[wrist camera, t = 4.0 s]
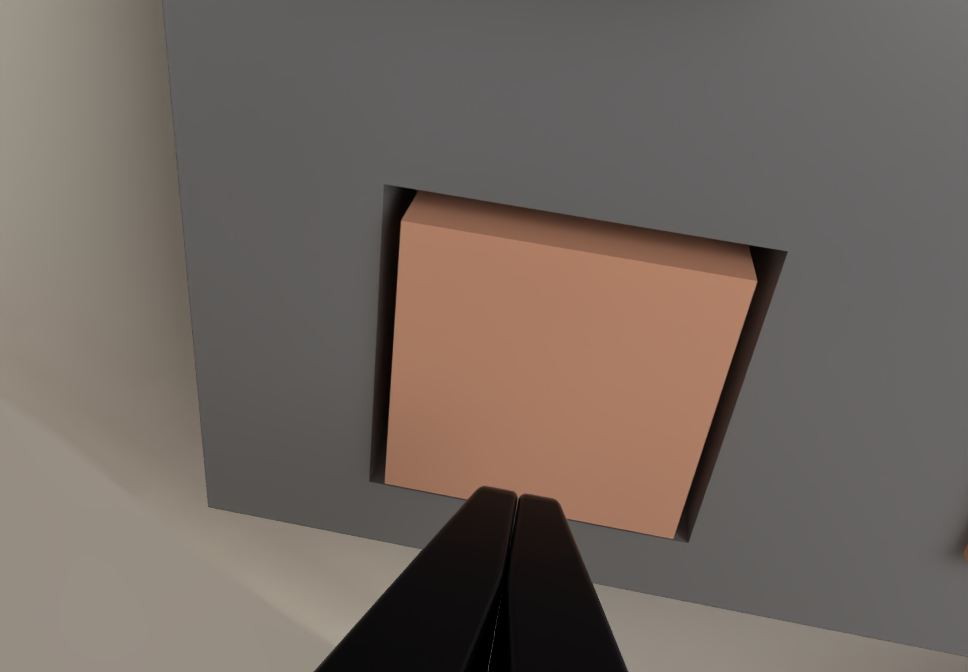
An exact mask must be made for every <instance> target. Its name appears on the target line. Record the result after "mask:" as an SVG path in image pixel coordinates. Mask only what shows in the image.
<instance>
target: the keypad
mask: <svg viewBox="0 0 968 672" xmlns="http://www.w3.org/2000/svg"><path fill="white" fill-rule="evenodd" d="M162 1H163V12H164V23H165V34H166V45H167V56H168V67H169V78H170V90H171V101H172V112H173V123H174V134H175V145H176V156H177V167H178V178H179V189H180V200H181V211H182V222H183V233H184V244H185V255H186V266H187V277H188V288H189V299H190V310H191V321H192V332H193V343H194V354H195V365H196V376H197V387H198V398H199V409H200V420H201V431H202V442H203V453H204V464H205V476H206V487H207V498H208V507H211V508H216V509H221V510H226V511H231V512H236V513H241V514H246V515H251V516H256V517H261V518H266V519H271V520H276V521H282V522H287V523H292V524H297V525H302V526H307V527H312V528H317V529H322V530H327V531H332V532H337V533H342V534H347V535H352V536H358V537H363V538H368V539H373V540H378V541H383V542H388V543H393V544H398V545H403V546H408V547H413V548H418V549H424V548H425V546H426V545H427V544H428V543H429V542H430V541H431V540H432V539H433V538H434V536H435V535H436V534H437V533H438V532H439V531H440V530H441V529H442V527H443V526H444V525H445V524H446V523H447V522H448V521H449V520H450V518H451V517H452V516H453V515H454V514H455V513H456V512H457V511H458V510H459V508H460V507H461V506H462V505H463V504H464V503H465V502H466V501H467V499H462V498H457V497H452V496H447V495H442V494H436V493H431V492H426V491H421V490H416V489H410V488H405V487H400V486H395V485H390V484H385V470H386V454H387V438H388V422H389V406H390V390H391V374H392V358H393V342H394V326H395V310H396V294H397V279H398V263H399V247H400V231H401V220H402V218H403V217H404V215H405V213H406V211H407V210H408V208H409V206H410V205H411V203H412V201H413V199H414V198H415V196H416V194H417V192H418V191H419V190H423V191H429V192H435V193H441V194H447V195H453V196H459V197H465V198H471V199H477V200H483V201H489V202H495V203H501V204H507V205H513V206H518V207H524V208H531V209H537V210H543V211H549V212H555V213H561V214H567V215H573V216H579V217H585V218H590V219H596V220H602V221H608V222H614V223H620V224H626V225H632V226H638V227H644V228H650V229H656V230H662V231H668V232H674V233H680V234H686V235H692V236H698V237H704V238H710V239H716V240H722V241H728V242H734V243H740V244H746V245H749V249H750V253H751V257H752V261H753V265H754V269H755V273H756V277H757V284H756V287H755V290H754V294H753V297H752V300H751V303H750V306H749V309H748V312H747V315H746V318H745V321H744V324H743V327H742V330H741V333H740V336H739V339H738V342H737V346H736V349H735V352H734V355H733V358H732V361H731V364H730V367H729V370H728V373H727V376H726V379H725V382H724V385H723V388H722V391H721V394H720V398H719V401H718V404H717V407H716V410H715V413H714V416H713V419H712V422H711V425H710V428H709V431H708V434H707V437H706V440H705V443H704V447H703V450H702V453H701V456H700V459H699V462H698V465H697V468H696V471H695V474H694V477H693V480H692V483H691V486H690V489H689V492H688V495H687V499H686V502H685V505H684V508H683V511H682V514H681V517H680V520H679V523H678V526H677V529H676V532H675V535H674V538H673V539H670V538H665V537H660V536H655V535H649V534H644V533H639V532H634V531H629V530H623V529H618V528H613V527H608V526H603V525H597V524H592V523H587V522H582V521H577V520H572V519H567V522H568V524H569V527H570V529H571V532H572V534H573V537H574V539H575V541H576V544H577V546H578V549H579V551H580V554H581V556H582V559H583V561H584V564H585V566H586V569H587V571H588V574H589V576H590V579H591V581H592V583H596V584H601V585H606V586H611V587H616V588H621V589H626V590H631V591H636V592H641V593H646V594H651V595H656V596H661V597H666V598H671V599H677V600H682V601H687V602H692V603H697V604H702V605H707V606H712V607H717V608H722V609H727V610H732V611H737V612H742V613H747V614H753V615H758V616H763V617H768V618H773V619H778V620H783V621H788V622H793V623H798V624H803V625H808V626H813V627H818V628H823V629H828V630H834V631H839V632H844V633H849V634H854V635H859V636H864V637H869V638H874V639H879V640H884V641H889V642H894V643H899V644H904V645H910V646H915V647H920V648H925V649H930V650H935V651H940V652H945V653H950V654H955V655H960V656H965V657H968V0H162ZM516 510H517V509H516ZM515 515H516V514H515ZM514 521H515V519H514ZM513 527H514V525H513ZM512 532H513V531H512ZM511 538H512V537H511ZM508 555H509V554H508Z"/></svg>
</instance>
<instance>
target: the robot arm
mask: <svg viewBox="0 0 968 672" xmlns="http://www.w3.org/2000/svg"><path fill="white" fill-rule="evenodd" d="M517 502H518V504H517ZM516 508H517V510H516ZM515 514H516V515H515ZM514 519H515V521H514ZM513 525H514V527H513ZM512 531H513V532H512ZM511 537H512V538H511ZM508 554H509V555H508ZM502 588H503V589H502ZM501 594H502V595H501ZM499 605H500V606H499ZM498 611H499V612H498ZM497 616H498V618H497ZM496 622H497V623H496ZM495 627H496V629H495ZM494 633H495V635H494ZM493 639H494V640H493ZM492 644H493V646H492ZM491 650H492V652H491ZM490 655H491V658H490ZM489 661H490V663H489ZM488 666H489V669H488ZM314 672H628V670H627V668H626V665H625V663H624V660H623V658H622V655H621V653H620V650H619V648H618V645H617V643H616V641H615V638H614V636H613V633H612V631H611V628H610V626H609V623H608V621H607V618H606V616H605V613H604V611H603V608H602V606H601V603H600V601H599V598H598V596H597V593H596V591H595V589H594V586H593V584H592V581H591V579H590V576H589V574H588V571H587V569H586V566H585V564H584V561H583V559H582V556H581V554H580V551H579V549H578V546H577V544H576V541H575V539H574V537H573V534H572V532H571V529H570V527H569V524H568V522H567V519H566V517H565V514H564V512H563V509H562V507H561V505H560V503H559V502H558V501H557V500H556V499H553V498H548V497H543V496H538V495H533V494H527V493H524V494H522V495H521V496H520V497H519V499H518V496H517V494H516V493H515V492H514V491H511V490H506V489H501V488H495V487H490V486H481V487H479V488H478V489H477V490H476V491H475V492H474V493H473V494H472V495H471V496H470V497H469V498H468V499H467V501H466V502H465V503H464V504H463V505H462V506H461V507H460V508H459V510H458V511H457V512H456V513H455V514H454V515H453V516H452V517H451V518H450V520H449V521H448V522H447V523H446V524H445V525H444V526H443V527H442V529H441V530H440V531H439V532H438V533H437V534H436V535H435V536H434V538H433V539H432V540H431V541H430V542H429V543H428V544H427V545H426V546H425V548H424V549H423V550H422V551H421V552H420V553H419V554H418V555H417V557H416V558H415V559H414V560H413V561H412V562H411V563H410V564H409V566H408V567H407V568H406V569H405V570H404V571H403V572H402V573H401V574H400V576H399V577H398V578H397V579H396V580H395V581H394V582H393V583H392V585H391V586H390V587H389V588H388V589H387V590H386V591H385V592H384V594H383V595H382V596H381V597H380V598H379V599H378V600H377V601H376V602H375V604H374V605H373V606H372V607H371V608H370V609H369V610H368V611H367V613H366V614H365V615H364V616H363V617H362V618H361V619H360V620H359V622H358V623H357V624H356V625H355V626H354V627H353V628H352V629H351V630H350V632H349V633H348V634H347V635H346V636H345V637H344V638H343V639H342V641H341V642H340V643H339V644H338V645H337V646H336V647H335V648H334V650H333V651H332V652H331V653H330V654H329V655H328V656H327V657H326V659H325V660H324V661H323V662H322V663H321V664H320V665H319V666H318V667H317V669H316V670H315V671H314Z"/></svg>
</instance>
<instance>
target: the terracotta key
mask: <svg viewBox="0 0 968 672" xmlns="http://www.w3.org/2000/svg"><path fill="white" fill-rule="evenodd" d="M756 284H757V277H756V273H755V269H754V265H753V261H752V257H751V253H750V249H749V245H746V244H740V243H734V242H728V241H722V240H716V239H710V238H704V237H698V236H692V235H686V234H680V233H674V232H668V231H662V230H656V229H650V228H644V227H638V226H632V225H626V224H620V223H614V222H608V221H602V220H596V219H590V218H585V217H579V216H573V215H567V214H561V213H555V212H549V211H543V210H537V209H531V208H524V207H518V206H513V205H507V204H501V203H495V202H489V201H483V200H477V199H471V198H465V197H459V196H453V195H447V194H441V193H435V192H429V191H423V190H419V191H418V192H417V194H416V196H415V198H414V199H413V201H412V203H411V205H410V206H409V208H408V210H407V211H406V213H405V215H404V217H403V218H402V220H401V231H400V247H399V263H398V279H397V294H396V310H395V326H394V342H393V358H392V374H391V390H390V406H389V422H388V438H387V454H386V470H385V484H390V485H395V486H400V487H405V488H410V489H416V490H421V491H426V492H431V493H436V494H442V495H447V496H452V497H457V498H462V499H468V498H469V497H470V496H471V495H472V494H473V493H474V492H475V491H476V490H477V489H478V488H479V487H481V486H490V487H495V488H501V489H506V490H511V491H514V492H515V493H516V494H517V496H518V499H519V497H520V496H521V495H522V494H524V493H527V494H533V495H538V496H543V497H548V498H553V499H556V500H557V501H558V502H559V503H560V505H561V507H562V509H563V512H564V514H565V517H566V519H572V520H577V521H582V522H587V523H592V524H597V525H603V526H608V527H613V528H618V529H623V530H629V531H634V532H639V533H644V534H649V535H655V536H660V537H665V538H670V539H673V538H674V535H675V532H676V529H677V526H678V523H679V520H680V517H681V514H682V511H683V508H684V505H685V502H686V499H687V495H688V492H689V489H690V486H691V483H692V480H693V477H694V474H695V471H696V468H697V465H698V462H699V459H700V456H701V453H702V450H703V447H704V443H705V440H706V437H707V434H708V431H709V428H710V425H711V422H712V419H713V416H714V413H715V410H716V407H717V404H718V401H719V398H720V394H721V391H722V388H723V385H724V382H725V379H726V376H727V373H728V370H729V367H730V364H731V361H732V358H733V355H734V352H735V349H736V346H737V342H738V339H739V336H740V333H741V330H742V327H743V324H744V321H745V318H746V315H747V312H748V309H749V306H750V303H751V300H752V297H753V294H754V290H755V287H756ZM517 504H518V502H517ZM516 509H517V508H516Z"/></svg>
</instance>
